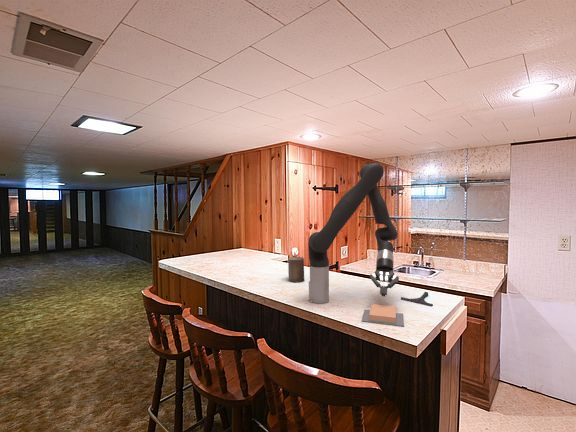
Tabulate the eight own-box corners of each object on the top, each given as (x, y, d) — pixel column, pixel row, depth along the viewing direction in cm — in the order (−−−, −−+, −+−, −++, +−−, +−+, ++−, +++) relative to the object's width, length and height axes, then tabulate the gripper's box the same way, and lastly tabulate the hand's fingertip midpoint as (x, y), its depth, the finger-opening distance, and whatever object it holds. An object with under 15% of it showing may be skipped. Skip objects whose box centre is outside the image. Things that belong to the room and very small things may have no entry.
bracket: (442, 299, 147) (442, 294, 147) (431, 308, 137) (431, 301, 137) (412, 293, 157) (412, 288, 157) (400, 301, 147) (400, 295, 147)
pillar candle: (307, 281, 181) (306, 256, 180) (292, 283, 177) (292, 258, 176) (299, 277, 190) (299, 254, 189) (285, 279, 185) (285, 255, 185)
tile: (371, 309, 133) (369, 320, 121) (371, 304, 133) (369, 314, 121) (395, 312, 130) (395, 324, 117) (395, 306, 129) (395, 317, 117)
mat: (361, 321, 121) (361, 320, 121) (364, 310, 133) (364, 309, 133) (404, 326, 116) (404, 325, 116) (403, 314, 128) (403, 313, 128)
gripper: (369, 256, 140) (367, 289, 129) (400, 258, 136) (399, 292, 125) (370, 265, 145) (368, 298, 135) (399, 267, 141) (399, 301, 130)
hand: (383, 295), depth 130 cm, fingers closed
